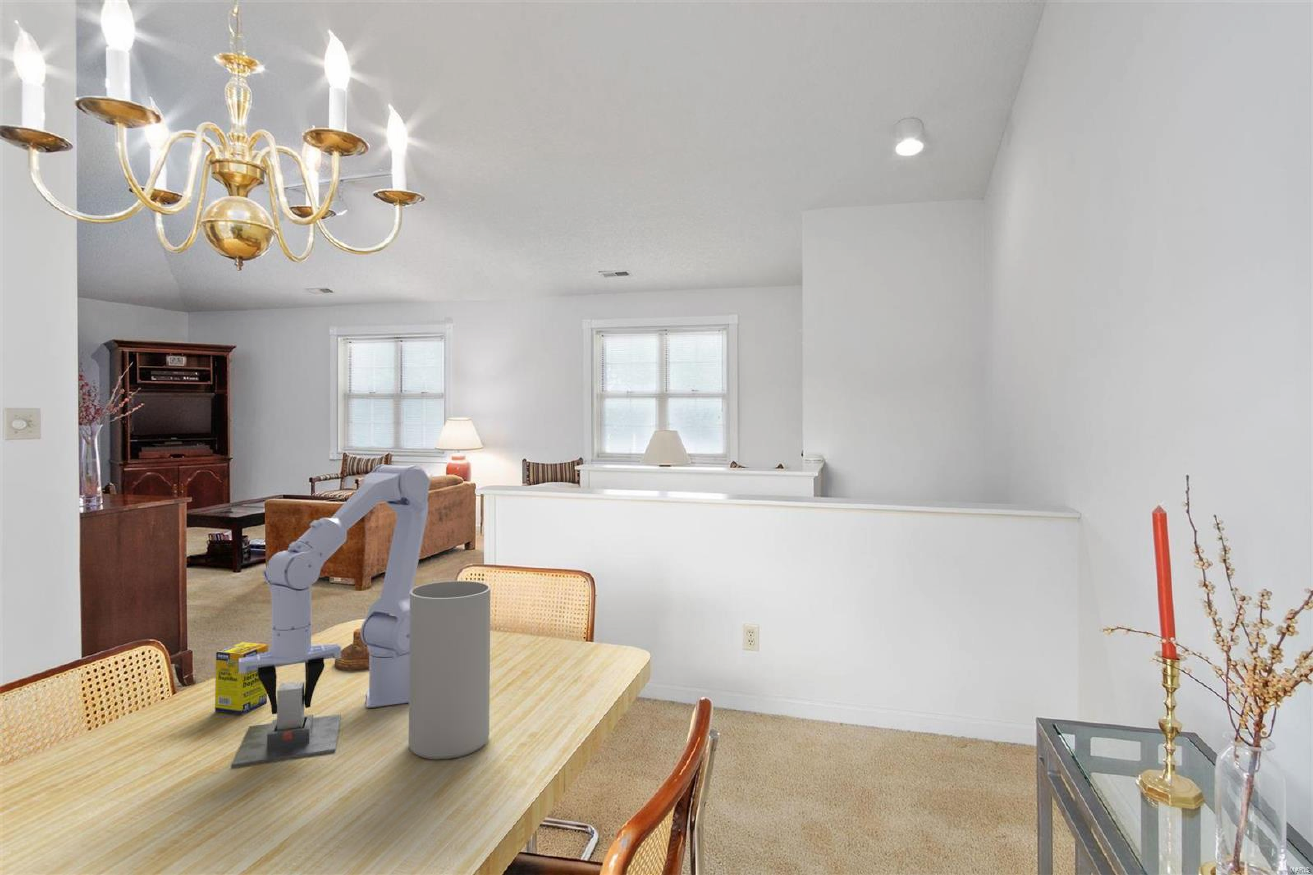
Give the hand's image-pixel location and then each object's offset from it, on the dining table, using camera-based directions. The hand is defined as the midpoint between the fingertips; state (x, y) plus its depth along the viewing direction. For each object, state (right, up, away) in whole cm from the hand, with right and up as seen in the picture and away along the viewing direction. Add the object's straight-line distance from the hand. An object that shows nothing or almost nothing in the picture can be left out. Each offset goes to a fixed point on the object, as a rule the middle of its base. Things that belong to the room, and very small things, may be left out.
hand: (291, 708), depth 109 cm
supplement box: (-16, -5, +13) cm, 21 cm away
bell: (-5, -5, +38) cm, 38 cm away
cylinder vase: (+26, -6, 0) cm, 27 cm away
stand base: (0, -5, 0) cm, 5 cm away
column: (0, -4, 0) cm, 4 cm away
